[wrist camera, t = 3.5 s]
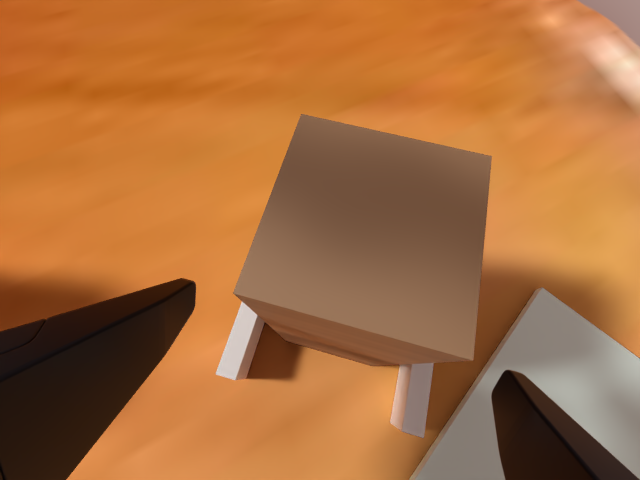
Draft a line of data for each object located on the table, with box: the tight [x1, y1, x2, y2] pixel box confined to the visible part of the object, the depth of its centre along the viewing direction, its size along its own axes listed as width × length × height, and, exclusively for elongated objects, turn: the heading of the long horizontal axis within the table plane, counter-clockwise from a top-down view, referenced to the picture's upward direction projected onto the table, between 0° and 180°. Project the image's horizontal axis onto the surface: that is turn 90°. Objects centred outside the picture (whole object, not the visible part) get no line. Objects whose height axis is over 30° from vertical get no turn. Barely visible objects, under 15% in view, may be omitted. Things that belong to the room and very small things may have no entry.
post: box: [233, 114, 492, 366], centre depth 13 cm, size 5×5×12 cm
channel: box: [216, 302, 434, 438], centre depth 19 cm, size 16×10×2 cm, turn 165°
